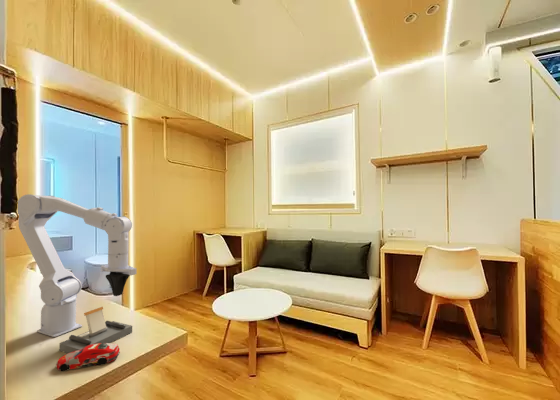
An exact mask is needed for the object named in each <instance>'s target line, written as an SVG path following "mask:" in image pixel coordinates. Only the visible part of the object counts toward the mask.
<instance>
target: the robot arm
mask: <svg viewBox="0 0 560 400" xmlns="http://www.w3.org/2000/svg"><path fill="white" fill-rule="evenodd" d="M17 202H18V214H19V218H18V228H19V230H20V233H21V235H22V237H23V239H24V241H25V243H26V245H27V246H28V250H29V251H30V253H31V255H32V257H33V259H34V261H35V263H36V265H37V267H38V269H39V271H40V274H41V275H42V277H43V278H42V280H41V281H40V283H39V285H38V287H39V289H40V299H41V301H42V302H43V304H44V305H43V306H42V307H41V310H40V329H37V330H36V332H37V333H40V334H43V335H46V336H49V337H52V338H56V337H58V336H60V335H64V334H66V333H69V332H71V331H73V330H76V329H79V328H81V327H83V324H80V323H77V298H78V294H79V293H80V291H81V290H82V287H83V286H82V285H83V284H82V282H81V280H80V279H79V278H77V277H76V276H75V275H74V272H72V271H70V270H68V269H66V268H65V266H64V264H63V263H62V261H61V258H60V256H59V254H58V251H57V250H56V247H54V244H53V242H52V239H51V238H50V236H49V234H48V232H47V230H46V228H45V225H46V224H47V222H48V221H49V220H51V218H52V217H53V216H54V215H56V214H57V213H58V212H60V213H64V214H66V215H67V214H68V215H71V216H75V217H76V218H81V219H83V223H84V224H86V225H89V226H91V227H94V228H96V229H99V230H102V231H105V233H106V234H107V241H108V242H107V244H108V245H107V247H108V248H107V249H108V250H107V264H103V265H100V272H107V273H108V274H106V275H105V278H106V280H107V281H108V283H109V285H110V289H111V291H112V292H111V293H112V295H113V297H118V296H122V295H123V292H124V289H125V285H126V283H127V281H128V279H129V278H130V276H131V277H132V276H134V275H135V276H136V275H137V267H133V266H131V265H129V245H130V244H129V243H130V242H129V241H130V237H129V232H130V230H131V229H132V228H133V227H132V226H133V223H132V221H131V219H130V218H128V217H127V216H125V215H123V216H118V214H117V213H115V212H112V213H111V212H109V211H106V210H104V208H103V207H101V206H100V207H99V206H97V207H91V208H87V207H85V206H81V205H79V204H76V203H75V202H72V201H69V200H68V199H64V198H63V197H58V196H54V195H37V194H31V193H30V194H29V193H27V194H24V195H22V196H21V197H20V198H18V200H17ZM18 214H17V215H18Z"/></svg>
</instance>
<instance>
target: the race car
mask: <svg viewBox="0 0 560 400" xmlns="http://www.w3.org/2000/svg"><path fill="white" fill-rule="evenodd" d="M120 353H121V352H120V347H119V344H118V343H98V344H92V345H88V346H86V347H85V348H83V349H81V350H78V351H74V352H71V353H65V354H64V355H63V356H60V358H59V359H57V362H56V364H55V366H56V370H57V371H60V372H61V373H62V372H67V371H69V370H74V369H75V370H76V369H80V368H81V369H82V368H86V367H87V368H88V367H92V366H97V365H98V366H101V365H106V364H108V363H111V362H114V361H115V360H116V359H117V358H118V356H119V355H120Z"/></svg>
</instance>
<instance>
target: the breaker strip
mask: <svg viewBox="0 0 560 400" xmlns="http://www.w3.org/2000/svg"><path fill="white" fill-rule="evenodd" d="M105 324H106V327H108V329H107V330H106V331H103V332H101V333H99V334H97V335H94V336H92V337H89V334H90V333H89V330H88V331H85V332H83V333H81V334H78V335H74V334H71V335H69V337H68V339H67V340H64V341H61V342H59V351H60V352H62V353H65V354H68V353H71V352H74V351H78V350H81V349H83V348H85V347H86V346H88V345H92V344H98V343H110V344H112V343H114V342H115V341H118V340H119V339H121V338H124V337H126V336H128V335H129V334H131V333H133V325H132V324H127V323H123V322H118V321H115V320H112V321H111V320H105Z"/></svg>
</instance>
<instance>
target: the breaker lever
mask: <svg viewBox="0 0 560 400" xmlns="http://www.w3.org/2000/svg"><path fill="white" fill-rule="evenodd" d="M103 310H104V307H103V306H101V307H98V308H95V309H91V310H89V311H85V312H84V313H83V315H84V316H85V319H86V323H87V327H88V331H89V333H90V334H89V337H92V336H94V335H97V334H99V333H101V332H103V331H106V330H107V329H108V327H106V324H105V322H106V320H105V315H104V311H103Z"/></svg>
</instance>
